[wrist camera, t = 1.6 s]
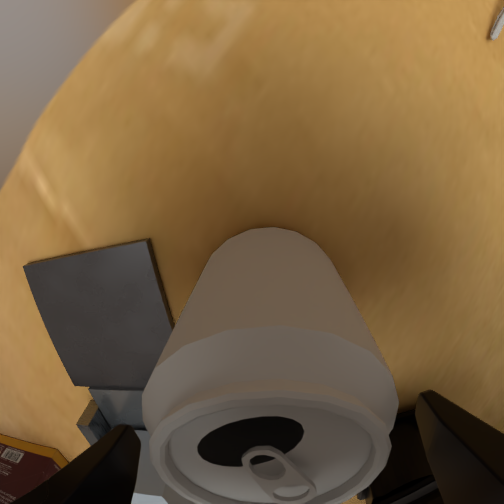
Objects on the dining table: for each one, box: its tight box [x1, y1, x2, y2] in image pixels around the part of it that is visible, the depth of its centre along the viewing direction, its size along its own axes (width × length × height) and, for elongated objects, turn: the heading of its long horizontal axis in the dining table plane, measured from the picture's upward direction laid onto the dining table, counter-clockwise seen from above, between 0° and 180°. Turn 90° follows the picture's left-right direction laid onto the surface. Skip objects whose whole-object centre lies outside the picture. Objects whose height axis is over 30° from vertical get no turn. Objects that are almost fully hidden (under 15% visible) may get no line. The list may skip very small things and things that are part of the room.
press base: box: [23, 238, 175, 446], centre depth 20 cm, size 10×28×3 cm, turn 10°
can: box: [142, 227, 399, 504], centre depth 12 cm, size 8×8×12 cm
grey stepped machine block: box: [112, 428, 196, 504], centre depth 19 cm, size 6×12×7 cm, turn 10°
